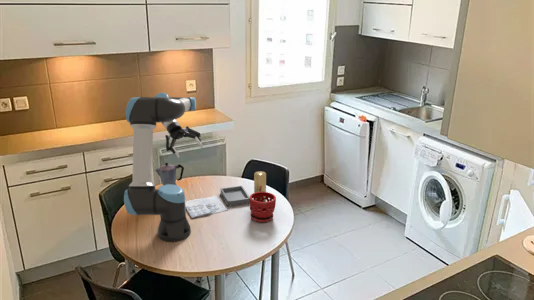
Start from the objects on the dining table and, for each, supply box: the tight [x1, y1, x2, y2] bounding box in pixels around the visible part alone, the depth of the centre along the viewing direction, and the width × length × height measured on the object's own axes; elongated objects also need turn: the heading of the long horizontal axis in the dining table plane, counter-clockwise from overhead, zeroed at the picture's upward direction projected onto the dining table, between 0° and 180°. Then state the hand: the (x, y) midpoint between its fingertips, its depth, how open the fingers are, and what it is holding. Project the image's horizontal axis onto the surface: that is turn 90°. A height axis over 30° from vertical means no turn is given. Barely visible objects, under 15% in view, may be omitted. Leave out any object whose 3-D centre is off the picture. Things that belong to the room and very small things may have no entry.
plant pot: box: [249, 191, 277, 223], centre depth 212 cm, size 13×13×12 cm
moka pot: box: [154, 162, 185, 185], centre depth 232 cm, size 10×15×20 cm, turn 115°
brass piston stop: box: [253, 171, 267, 202], centre depth 229 cm, size 6×6×16 cm
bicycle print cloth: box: [185, 195, 228, 219], centre depth 223 cm, size 19×20×2 cm
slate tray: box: [220, 185, 250, 207], centre depth 233 cm, size 17×13×3 cm
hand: (190, 150), depth 225 cm, fingers open, 13 cm apart
